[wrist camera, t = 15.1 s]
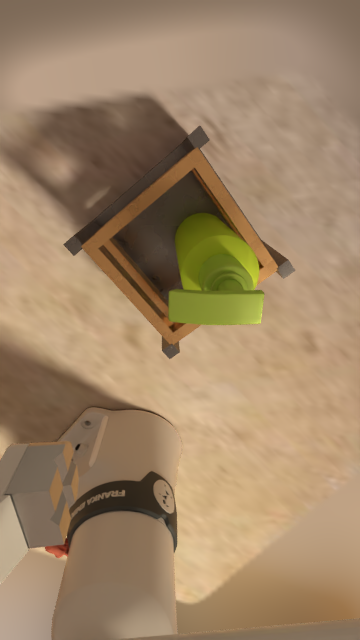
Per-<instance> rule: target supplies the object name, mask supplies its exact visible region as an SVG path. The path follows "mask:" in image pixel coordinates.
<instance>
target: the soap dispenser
mask: <svg viewBox="0 0 360 640" xmlns="http://www.w3.org/2000/svg"><path fill="white" fill-rule="evenodd" d="M175 247H176V253H177V259H178V264H179V270H180V276H181V282H182V286H183V289H174V290H171V291H169V310H168V319H169V321H171V322H178V323H188V324H201V325H241V324H260V323H261V316H262V308H263V300H264V292H263V291H262V290H254V289H255V287H256V285H257V282H258V278H259V264H258V260H257V257H256V255H255V253H254V251H253V250H252V248H251V247H250V246H249V245H248V244H247V243H246V242H245V241H243V240H242V239H241V238H240V237H239V236H238V235H237V234H236V233H234V232H233V231H232V230H231V229H230V228H229V227H228V226H227V225H226V224H224V223H223V222H222V221H221V220H220V219H219V218H217V217H216V216H214V215H212V214H208V213H197V214H193V215H191V216H189V217H188V218H186V219H185V220H184V221H183V222H182V223H181V224H180V226H179V227H178V229H177V232H176V235H175Z"/></svg>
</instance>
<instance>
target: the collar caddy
mask: <svg viewBox="0 0 360 640" xmlns="http://www.w3.org/2000/svg"><path fill="white" fill-rule="evenodd" d="M208 141H209V138H208V137H207V135H206V134H205V132H204V131H203V129H202V128H201V126H199V127H198V128H197V129H195V130H194V131H193V132H192V133H191V134H190V135H189V136H187V138H186V139H185V140H184V141H183V142H182V144H181V145H180V146H178V147H177V148H176V149H175V150H174V151H173V152H171V153H170V154H169V155H168V156H167V157H166V158H165V159H163V160H162V161H161V162H160V163H159V164H158V165H157V166H155V167H154V168H153V169H152V170H151V171H150V172H148V173H147V174H146V175H145V176H144V177H143V178H142V179H140V180H139V181H138V182H137V183H136V184H135V185H134V186H132V187H131V188H130V189H129V190H128V191H127V192H125V193H124V194H123V195H122V196H121V197H120V198H119V199H117V200H116V201H115V202H114V203H113V204H112V205H111V206H109V207H108V208H107V209H106V210H105V211H104V212H102V213H101V214H100V215H99V216H98V217H97V218H96V219H94V220H93V221H92V222H91V223H89V224H88V225H87V226H85V227H84V228H83V229H82V230H80V231H79V232H78V233H76V234H75V235H74V236H73V237H71V238H70V239H69V240H68V241H67V242H66V243H65V244H63V245H64V246H65V247H66V248H67V249H68V250H69V251H70V252H71V253H72V254H73V255H76V254H77V253H78V252H79V251H80V250H81V249H84V250H85V252H86V253H87V254H88V255H89V256H90V257H91V258H92V259H93V260H94V261H95V263H96V264H97V265H98V266H99V267H100V268H101V269H102V270H103V271H104V272H105V274H106V275H107V276H108V277H109V278H110V279H111V280H112V281H113V282H114V283H115V284H116V286H117V287H118V288H119V289H120V290H121V291H122V292H123V293H124V294H125V295H126V297H127V298H128V299H129V300H130V301H131V302H132V303H133V304H134V305H135V306H136V308H137V309H138V310H139V311H140V312H141V313H142V314H143V315H144V316H145V317H146V319H147V320H148V321H149V322H150V323H151V324H152V325H153V326H154V327H155V328H156V330H157V331H158V332H159V333H160V334H161V335H162V351H163V352H164V353H165V354H166V355H167V357H168V358H169V359H171V358H172V357H174V356H175V355H176V354H178V353H179V352H180V349H179V340H181V339H182V338H184V337H185V336H186V335H188V334H189V333H191V332H192V331H193V330H195V329H196V328H198V327H199V326H200V325H201V324H188V323H178V322H171V321H169V319H168V310H169V291H171V290H174V289H183V286H182V282H181V276H180V270H179V264H178V259H177V253H176V247H175V235H176V232H177V229H178V227H179V226H180V224H181V223H182V222H183V221H184V220H185V219H186V218H188V217H189V216H191V215H193V214H197V213H208V214H212V215H214V216H216V217H217V218H219V219H220V220H221V221H222V222H223V223H224V224H226V225H227V226H228V227H229V228H230V229H231V230H232V231H233V232H234V233H236V234H237V235H238V236H239V237H240V238H241V239H242V240H243V241H245V242H246V243H247V244H248V245H249V246H250V247H251V248H252V250H253V251H254V253H255V255H256V257H257V260H258V264H259V278H258V282H257V285H258V284H259V283H260V282H262V281H263V280H265V279H266V278H267V277H269V276H270V275H272V274H273V273H274V272H277V273H278V274H279V275H280V276H281V277H282V278H283V279H284V278H285V277H287V276H288V275H290V274H291V273H293V272H294V271H295V269H294V268H293V266H292V265H291V263H290V262H289V260H288V259H286V258H285V257H284V256H282V255H281V254H280V253H278V252H277V251H276V250H274V249H273V248H272V247H270V246H269V245H267V244H266V243H265V242H263V241H262V240H261V239H260V237H259V236H258V234H257V233H256V231H255V230H254V229H253V227H252V226H251V224H250V223H249V221H248V220H247V218H246V217H245V215H244V214H243V212H242V211H241V209H240V208H239V206H238V205H237V203H236V202H235V200H234V199H233V197H232V196H231V194H230V193H229V191H228V190H227V188H226V187H225V185H224V184H223V183H222V181H221V180H220V178H219V177H218V175H217V174H216V172H215V171H214V169H213V168H212V166H211V165H210V163H209V162H208V160H207V159H206V157H205V156H204V154H203V153H202V151H201V150H200V148H201V147H202V146H203V145H204V144H206V143H207V142H208Z"/></svg>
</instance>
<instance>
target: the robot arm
mask: <svg viewBox="0 0 360 640" xmlns="http://www.w3.org/2000/svg"><path fill="white" fill-rule="evenodd" d="M86 421H90V422H86ZM181 454H182V442H181V439H180V436H179V434H178V432H177V431H176V429H175V428H174V427H173V426H172V425H171V424H170V423H169V422H168V421H166V420H165V419H163V418H162V417H160V416H158V415H155V414H153V413H150V412H146V411H141V410H120V411H110V410H107V409H102V408H97V407H90V408H88V409H86V410H85V411H84V412H83V414H82V415H81V416H80V417H79V418H78V419H77V420H76V421H75V422H74V423H73V424H72V425H71V427H70V428H69V429H68V430H67V431H66V432H65V433H64V434H63V435H62V436H61V437H60V439H59V440H58V441H57V442H36V443H24V444H12V445H10V446H9V447H8V448H7V449H6V451H5V453H4V455H3V457H2V458H1V460H0V585H1V584H2V582H3V581H4V580H5V579H6V578H7V576H8V575H9V574H10V573H11V571H12V570H13V569H14V568H15V567H16V565H17V564H18V563H19V562H20V560H21V559H22V558H23V557H24V555H26V553H27V552H28V551H29V549H28V548H36V547H45V549H46V551H47V552H49V553H52V554H54V555H55V556H56V557H57V558H60V557H62V556H63V555H66V556H67V560H66V564H65V569H64V573H63V577H62V581H61V586H60V589H59V594H58V598H57V602H56V606H55V610H54V614H53V618H52V629H51V630H52V631H51V632H52V633H51V634H52V635H51V637H52V640H360V619H349V620H337V621H325V622H313V623H302V624H291V625H278V626H267V627H255V628H243V629H232V630H220V631H209V632H197V633H185V634H178V631H177V619H176V597H175V572H174V552H175V550H176V547H177V512H176V504H175V498H174V495H175V487H176V483H177V471H178V466H179V462H180V458H181ZM66 536H67V538H66Z"/></svg>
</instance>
